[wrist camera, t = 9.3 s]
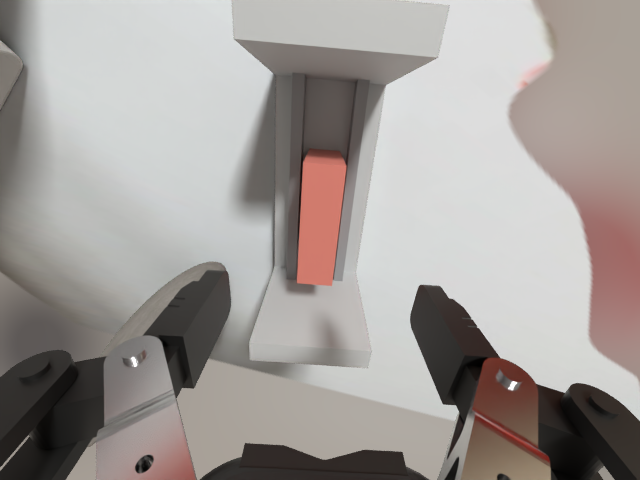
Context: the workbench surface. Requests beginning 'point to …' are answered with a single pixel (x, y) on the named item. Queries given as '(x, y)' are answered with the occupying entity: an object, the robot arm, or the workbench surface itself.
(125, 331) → the planter
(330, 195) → the red rectangular block
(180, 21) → the workbench surface
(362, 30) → the u-shaped grey holder
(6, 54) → the wall lamp
